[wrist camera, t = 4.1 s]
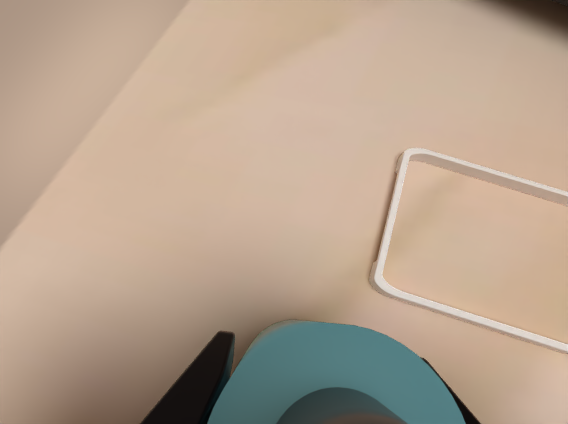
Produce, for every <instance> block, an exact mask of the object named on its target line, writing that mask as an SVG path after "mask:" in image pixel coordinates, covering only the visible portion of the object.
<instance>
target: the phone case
mask: <svg viewBox="0 0 568 424" xmlns="http://www.w3.org/2000/svg"><path fill="white" fill-rule="evenodd" d="M408 161H419V162H424V163H427V164H430V165H434V166H437V167H440V168H444V169H447V170H450V171H453V172H457V173H460V174H463V175H467V176H470V177H473V178H476V179H480V180H483V181H486V182H490V183H493V184H496V185H499V186H503V187H506V188H509V189H513V190H516V191H519V192H522V193H526V194H529V195H532V196H536V197H539V198H542V199H545V200H549V201H552V202H555V203H559V204H562V205H565V206H568V192H566V191H563V190H560V189H556V188H553V187H550V186H547V185H543V184H540V183H537V182H533V181H530V180H527V179H523V178H520V177H517V176H513V175H510V174H507V173H504V172H500V171H497V170H494V169H490V168H487V167H484V166H480V165H477V164H474V163H471V162H467V161H464V160H461V159H457V158H454V157H451V156H447V155H444V154H441V153H438V152H434V151H431V150H427V149H423V148H409V149H407V150H405V151H404V152H403V154H402V155H401V156H400V157H399V159H398V162H397V166H396V170H395V173H397V178H396V182H395V187H394V191H393V195H392V199H391V203H390V208H389V212H388V216H387V220H386V224H385V228H384V233H383V237H382V241H381V245H380V249H379V253H378V258H377V261H375V262H373V265H372V269H371V273H370V278H369V282H370V284H371V286H372V287H373V288H374V289H375V290H376V291H378V292H379V293H381V294H383V295H385V296H387V297H390V298H393V299H396V300H399V301H402V302H405V303H408V304H412V305H415V306H418V307H421V308H424V309H427V310H430V311H433V312H436V313H439V314H443V315H446V316H449V317H452V318H455V319H458V320H461V321H464V322H467V323H471V324H474V325H477V326H480V327H483V328H486V329H489V330H492V331H495V332H498V333H502V334H505V335H508V336H511V337H514V338H517V339H520V340H523V341H526V342H530V343H533V344H536V345H539V346H542V347H545V348H548V349H551V350H554V351H557V352H561V353H567V354H568V344H565V343H562V342H559V341H556V340H552V339H549V338H546V337H543V336H540V335H537V334H534V333H531V332H528V331H524V330H521V329H518V328H515V327H512V326H509V325H506V324H503V323H499V322H496V321H493V320H490V319H487V318H484V317H481V316H478V315H475V314H471V313H468V312H465V311H462V310H459V309H456V308H453V307H450V306H446V305H443V304H440V303H437V302H434V301H431V300H428V299H425V298H422V297H418V296H415V295H412V294H409V293H406V292H403V291H400V290H398V289H396V288H394V287H393V286H391V285H390V284H388V283H387V282H386V281H385V279H384V278H383V275H382V273H383V269H384V264H385V260H386V256H387V252H388V247H389V243H390V239H391V234H392V230H393V226H394V221H395V217H396V213H397V209H398V204H399V200H400V196H401V191H402V187H403V183H404V178H405V174H406V170H407V165H408Z"/></svg>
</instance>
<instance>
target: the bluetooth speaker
mask: <svg viewBox="0 0 568 424" xmlns="http://www.w3.org/2000/svg"><path fill="white" fill-rule="evenodd" d="M552 1H554V2H557V3H560V4H563V5H566V6H568V0H552Z"/></svg>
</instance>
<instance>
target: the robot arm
mask: <svg viewBox="0 0 568 424" xmlns="http://www.w3.org/2000/svg"><path fill="white" fill-rule="evenodd" d="M234 343H235V334H234V333H233V332H227V331H219V332H218V333H217V334H216V335H215V336H214V337H213V339H212V340H211V341H210V342H209V343H208V344H207V346H206V347H205V348H204V349H203V350H202V351H201V353H200V354H199V355H198V356H197V357H196V358H195V360H194V361H193V362H192V363H191V364H190V365H189V367H188V368H187V369H186V370H185V371H184V373H183V374H182V375H181V376H180V377H179V378H178V380H177V381H176V382H175V383H174V384H173V385H172V387H171V388H170V389H169V390H168V391H167V392H166V394H165V395H164V396H163V397H162V398H161V400H160V401H159V402H158V403H157V404H156V405H155V407H154V408H153V409H152V410H151V411H150V412H149V414H148V415H147V416H146V417H145V418H144V419H143V421H142V422H141V423H140V424H207V423H208V420H209V418H210V415H211V413H212V410H213V408H214V406H215V404H216V402H217V400H218V398H219V396H220V394H221V392H222V391H223V389H224V387H225V386H226V384H227V382H228V381H229V378H230V373H231V368H232V362H233V355H234ZM420 358H421V357H420ZM421 359H422V360H423V361H424V362H425V363H426V364H428V365H429V366H430V368H431V369H432V370H433V371H434V372H435V373H436V374H437V376H438V377H439V378H440V379H441V380H442V382H443V383H444V385H445V386H446V388H447V389H448V391H449V392H450V393H451V395H452V396H453V398H454V400H455V402H456V404H457V406H458V408H459V410H460V412H461V414H462V416H463V418H464V421H465V424H481V423H480V422H479V421H478V420H477V419H476V417H475V416H474V415H473V414H472V413H471V412H470V410H469V409H468V408H467V407H466V406H465V405H464V403H463V402H462V401H461V400H460V399H459V398H458V396H457V395H456V394H455V393H454V392H453V391H452V389H451V388H450V387H449V386H448V385H447V384H446V382H445V381H444V380H443V379H442V378H441V377H440V375H439V374H438V373H437V372H436V371H435V369H434V368H433V367H432V366H431V365H430V364H429V362H428V361H427V360H426V359H424V358H421Z"/></svg>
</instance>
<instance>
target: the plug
mask: <svg viewBox="0 0 568 424" xmlns="http://www.w3.org/2000/svg"><path fill="white" fill-rule="evenodd" d="M207 424H465V421H464V418H463V416H462V414H461V412H460V410H459V408H458V406H457V404H456V402H455V400H454V398H453V396H452V395H451V393H450V392H449V391H448V389H447V388H446V386H445V385H444V383H443V382H442V380H441V379H440V378H439V377H438V376H437V374H436V373H435V372H434V371H433V370H432V369H431V368H430V366H429V365H428V364H426V363H425V362H424V361H423V360H422V359H421V358H420V357H419V356H418V355H417V354H415V353H414V352H413V351H411V350H410V349H408V348H407V347H406V346H404V345H403V344H401V343H400V342H398V341H396V340H394V339H392V338H390V337H388V336H387V335H384V334H381V333H379V332H376V331H374V330H371V329H367V328H363V327H359V326H355V325H345V324H335V323H324V322H313V321H303V320H286V321H281V322H278V323H275V324H273V325H271V326H269V327H267V328H266V329H264V330H263V331H262V332H261V333H260V334H258V336H257V337H256V338H255V339H254V340H253V342H252V343H251V345H250V346H249V348H248V349H247V351H246V353H245V354H244V356H243V358H242V359H241V361H240V363H239V364H238V366H237V368H236V369H235V371H234V373H233V374H232V376H231V377H230V379H229V381H228V382H227V384H226V386H225V387H224V389H223V391H222V392H221V394H220V396H219V398H218V400H217V402H216V404H215V406H214V408H213V410H212V413H211V415H210V418H209V420H208V423H207Z"/></svg>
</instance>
